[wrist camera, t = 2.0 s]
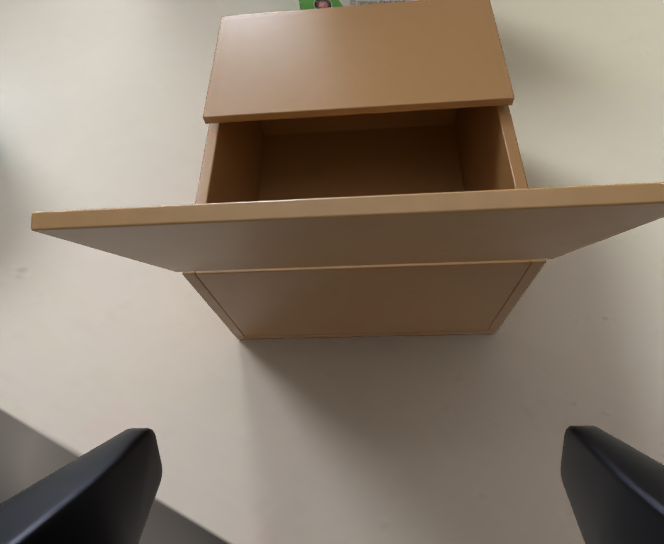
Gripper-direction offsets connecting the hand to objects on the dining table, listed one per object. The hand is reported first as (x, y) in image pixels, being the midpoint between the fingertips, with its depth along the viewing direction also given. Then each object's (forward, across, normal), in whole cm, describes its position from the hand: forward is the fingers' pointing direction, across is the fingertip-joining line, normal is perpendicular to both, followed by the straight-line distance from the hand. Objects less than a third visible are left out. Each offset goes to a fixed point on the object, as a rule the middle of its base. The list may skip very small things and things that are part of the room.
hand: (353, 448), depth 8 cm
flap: (+5, 0, -2) cm, 6 cm away
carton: (+19, 0, 0) cm, 19 cm away
